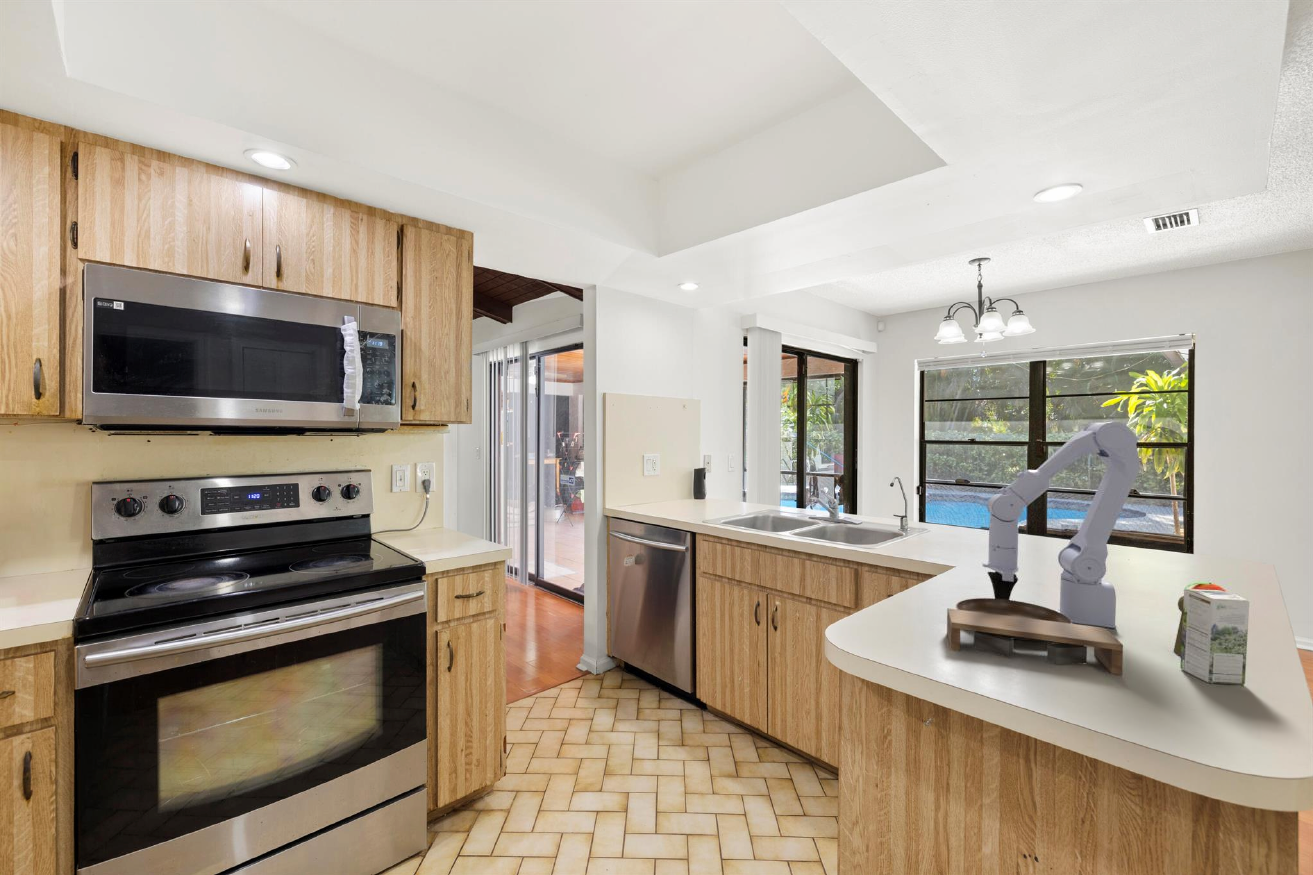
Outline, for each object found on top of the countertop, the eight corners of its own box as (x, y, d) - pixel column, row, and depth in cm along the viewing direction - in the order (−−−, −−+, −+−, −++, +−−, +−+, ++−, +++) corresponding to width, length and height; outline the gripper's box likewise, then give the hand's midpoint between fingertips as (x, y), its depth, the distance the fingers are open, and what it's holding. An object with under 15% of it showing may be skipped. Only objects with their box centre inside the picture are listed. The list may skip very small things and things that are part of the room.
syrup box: (1215, 671, 98) (1217, 588, 97) (1247, 686, 92) (1250, 598, 92) (1179, 669, 98) (1182, 587, 98) (1209, 684, 92) (1212, 597, 92)
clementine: (1186, 613, 129) (1187, 583, 129) (1178, 605, 135) (1179, 576, 135) (1235, 620, 125) (1236, 588, 125) (1224, 611, 131) (1225, 581, 131)
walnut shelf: (1103, 655, 104) (1104, 627, 104) (1122, 675, 95) (1122, 644, 95) (946, 633, 114) (947, 608, 114) (951, 649, 106) (951, 622, 106)
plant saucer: (968, 638, 112) (969, 622, 111) (946, 607, 131) (947, 593, 131) (1090, 652, 106) (1091, 634, 106) (1048, 617, 125) (1048, 602, 125)
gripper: (979, 539, 137) (977, 594, 137) (987, 550, 124) (986, 611, 124) (1012, 541, 134) (1011, 597, 134) (1025, 553, 121) (1023, 616, 121)
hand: (1001, 604), depth 129 cm, fingers closed
